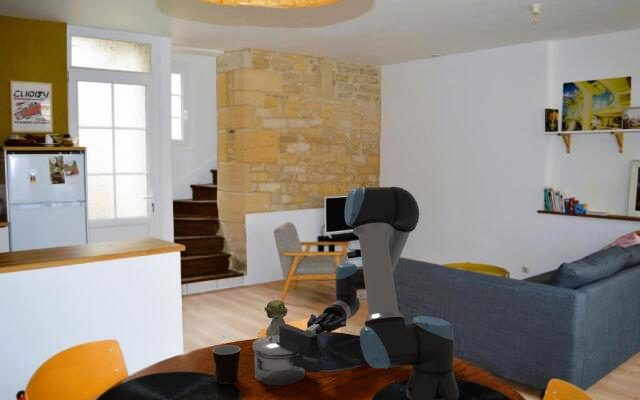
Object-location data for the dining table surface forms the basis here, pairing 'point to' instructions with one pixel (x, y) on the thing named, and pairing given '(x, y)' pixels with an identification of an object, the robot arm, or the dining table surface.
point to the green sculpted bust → (275, 316)
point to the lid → (288, 343)
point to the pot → (284, 368)
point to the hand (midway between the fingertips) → (308, 334)
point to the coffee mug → (226, 363)
